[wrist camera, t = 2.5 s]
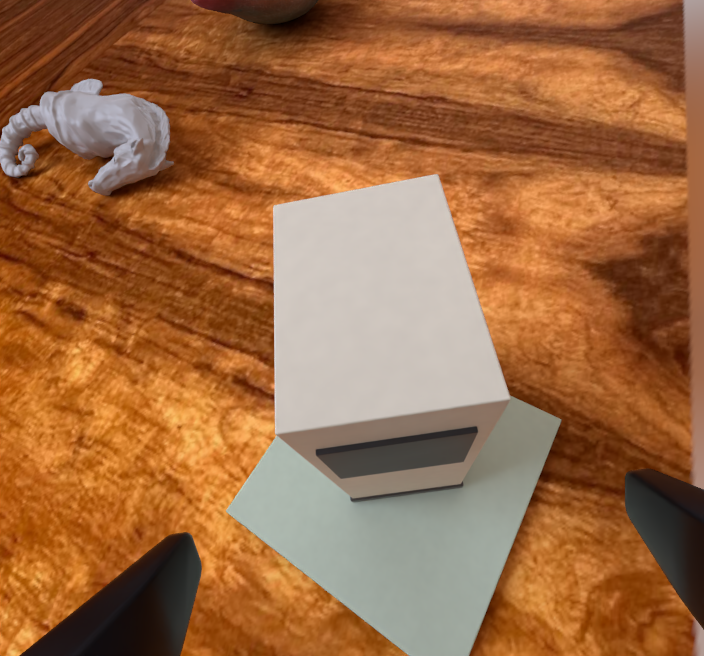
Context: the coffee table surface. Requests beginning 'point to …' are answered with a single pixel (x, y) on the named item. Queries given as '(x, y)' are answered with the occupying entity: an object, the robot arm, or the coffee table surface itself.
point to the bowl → (260, 9)
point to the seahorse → (93, 134)
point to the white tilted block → (381, 341)
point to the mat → (405, 535)
